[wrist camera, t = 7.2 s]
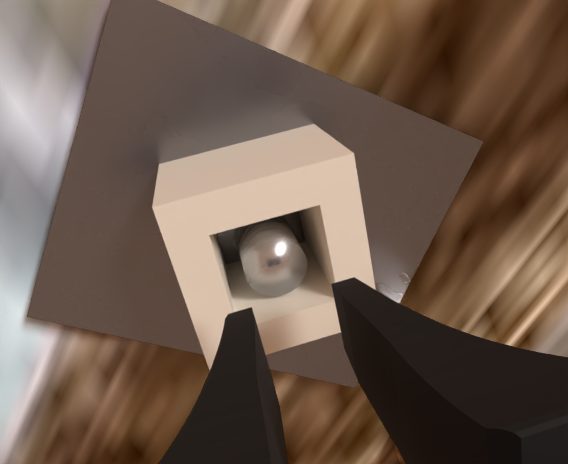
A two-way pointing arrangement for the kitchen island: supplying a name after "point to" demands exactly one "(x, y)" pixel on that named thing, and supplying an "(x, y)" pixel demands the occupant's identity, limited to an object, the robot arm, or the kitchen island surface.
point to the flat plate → (213, 135)
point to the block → (257, 207)
